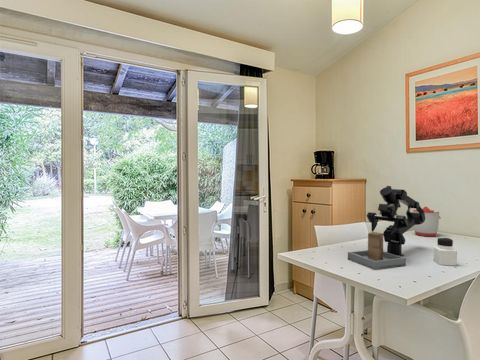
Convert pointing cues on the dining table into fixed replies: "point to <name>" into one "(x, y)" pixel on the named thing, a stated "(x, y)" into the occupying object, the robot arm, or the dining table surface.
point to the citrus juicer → (428, 223)
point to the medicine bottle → (445, 252)
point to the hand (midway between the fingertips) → (381, 232)
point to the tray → (387, 261)
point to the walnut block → (375, 246)
